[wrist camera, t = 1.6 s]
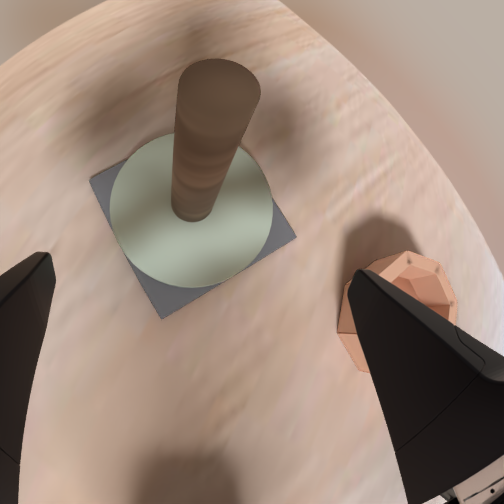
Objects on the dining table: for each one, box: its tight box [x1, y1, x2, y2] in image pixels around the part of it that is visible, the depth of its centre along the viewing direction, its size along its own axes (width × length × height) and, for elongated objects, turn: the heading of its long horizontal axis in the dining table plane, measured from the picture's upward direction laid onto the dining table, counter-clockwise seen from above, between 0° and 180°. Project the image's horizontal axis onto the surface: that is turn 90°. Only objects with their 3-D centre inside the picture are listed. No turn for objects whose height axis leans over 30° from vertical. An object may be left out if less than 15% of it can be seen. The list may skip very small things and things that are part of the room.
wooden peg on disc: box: [110, 59, 273, 288], centre depth 16 cm, size 11×11×12 cm
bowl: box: [337, 250, 458, 373], centre depth 22 cm, size 9×9×4 cm
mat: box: [89, 159, 296, 319], centre depth 22 cm, size 11×11×1 cm
